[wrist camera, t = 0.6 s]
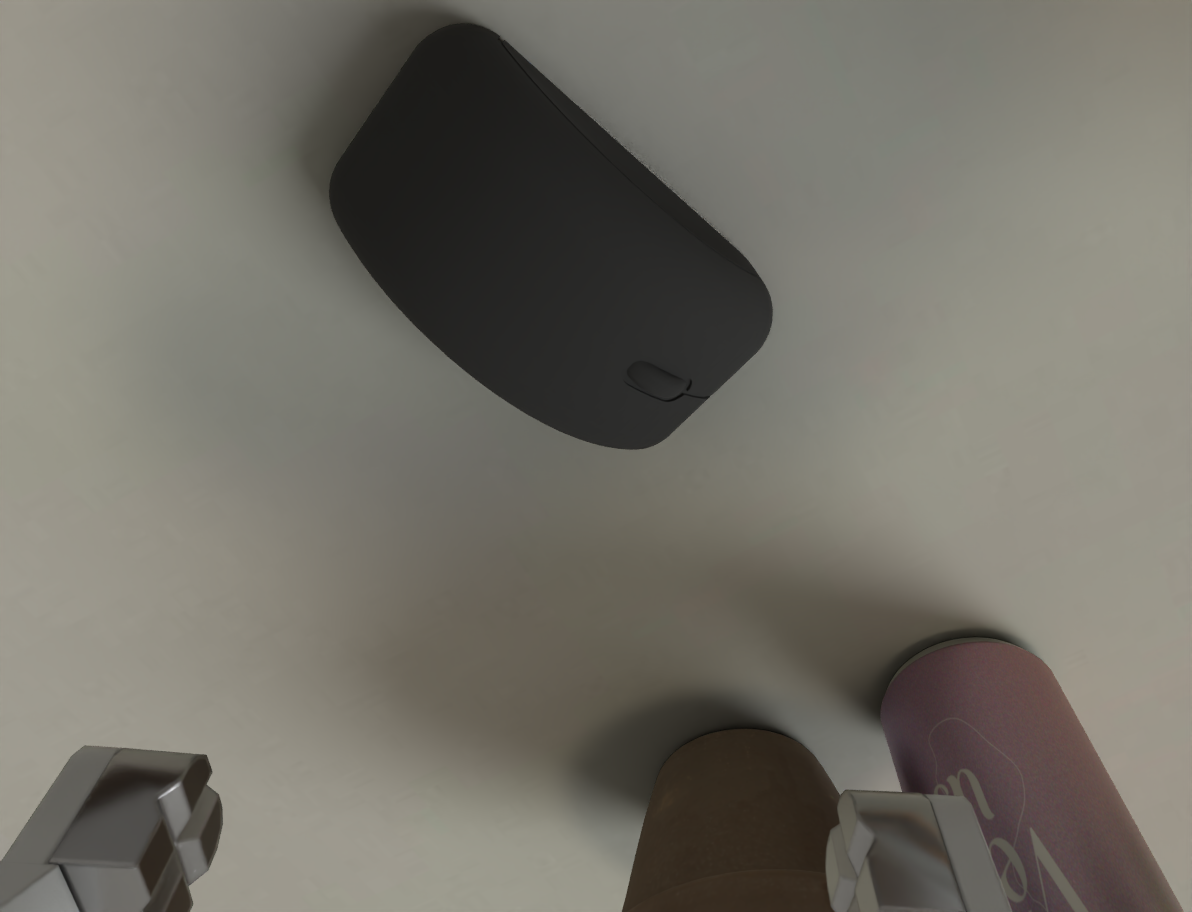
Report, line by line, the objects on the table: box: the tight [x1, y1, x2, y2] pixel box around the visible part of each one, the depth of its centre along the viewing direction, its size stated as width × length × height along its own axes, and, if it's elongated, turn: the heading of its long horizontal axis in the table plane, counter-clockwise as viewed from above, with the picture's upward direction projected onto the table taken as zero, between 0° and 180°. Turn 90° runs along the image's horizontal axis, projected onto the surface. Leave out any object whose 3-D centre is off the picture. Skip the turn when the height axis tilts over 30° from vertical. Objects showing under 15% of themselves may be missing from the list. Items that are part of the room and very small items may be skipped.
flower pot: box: [622, 729, 840, 912], centre depth 30 cm, size 12×11×10 cm
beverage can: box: [881, 637, 1184, 912], centre depth 25 cm, size 6×6×15 cm
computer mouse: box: [329, 24, 773, 449], centre depth 22 cm, size 6×11×4 cm, turn 50°
